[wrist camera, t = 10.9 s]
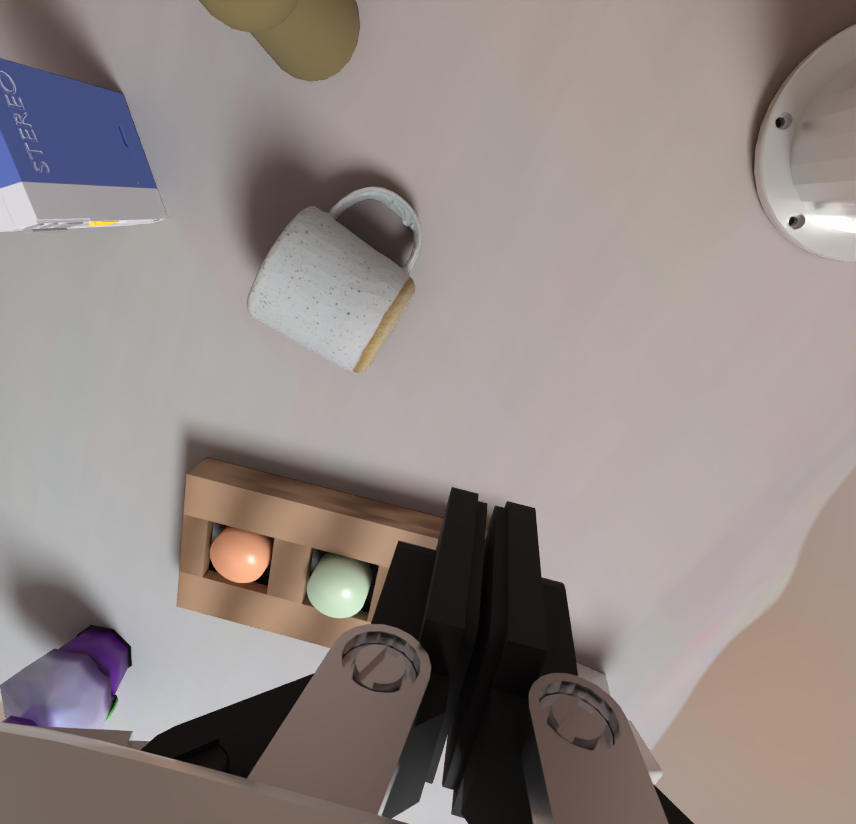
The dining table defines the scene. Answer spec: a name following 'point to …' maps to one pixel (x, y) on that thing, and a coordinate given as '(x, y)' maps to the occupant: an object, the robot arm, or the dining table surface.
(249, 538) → the terracotta button
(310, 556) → the button deck
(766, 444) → the dining table surface
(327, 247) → the ceramic mug
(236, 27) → the cork
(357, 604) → the sage button
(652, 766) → the lighter
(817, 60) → the robot arm
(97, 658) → the potion bottle
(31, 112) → the walkman
